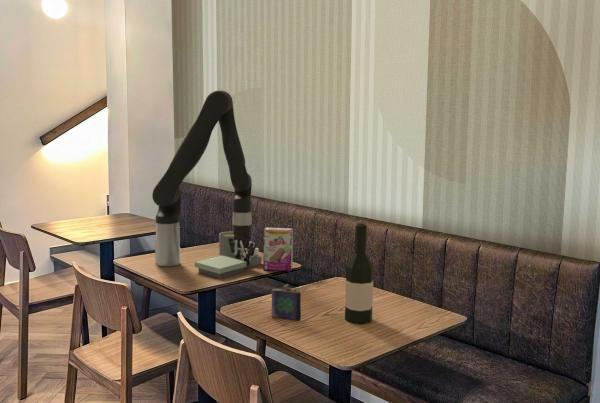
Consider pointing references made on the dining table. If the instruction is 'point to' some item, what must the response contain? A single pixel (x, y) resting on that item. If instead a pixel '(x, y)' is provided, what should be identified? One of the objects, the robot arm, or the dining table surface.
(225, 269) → the green lidded box
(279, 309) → the flask
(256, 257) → the grey white knobbed block
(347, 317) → the wine bottle
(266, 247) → the candy bar box
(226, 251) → the coffee mug
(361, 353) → the dining table surface
